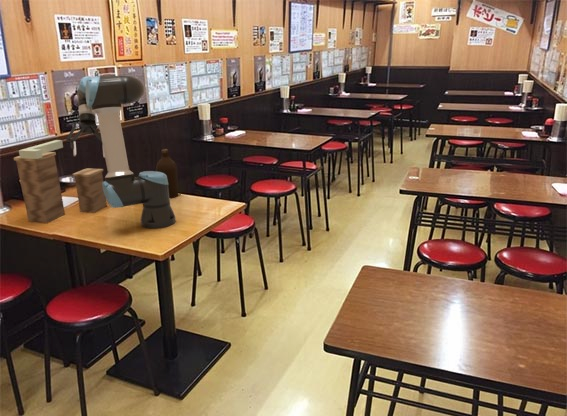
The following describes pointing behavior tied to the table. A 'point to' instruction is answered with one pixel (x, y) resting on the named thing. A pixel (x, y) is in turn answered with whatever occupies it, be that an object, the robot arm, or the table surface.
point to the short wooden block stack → (90, 190)
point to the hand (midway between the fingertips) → (90, 156)
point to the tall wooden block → (41, 188)
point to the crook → (40, 149)
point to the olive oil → (168, 172)
